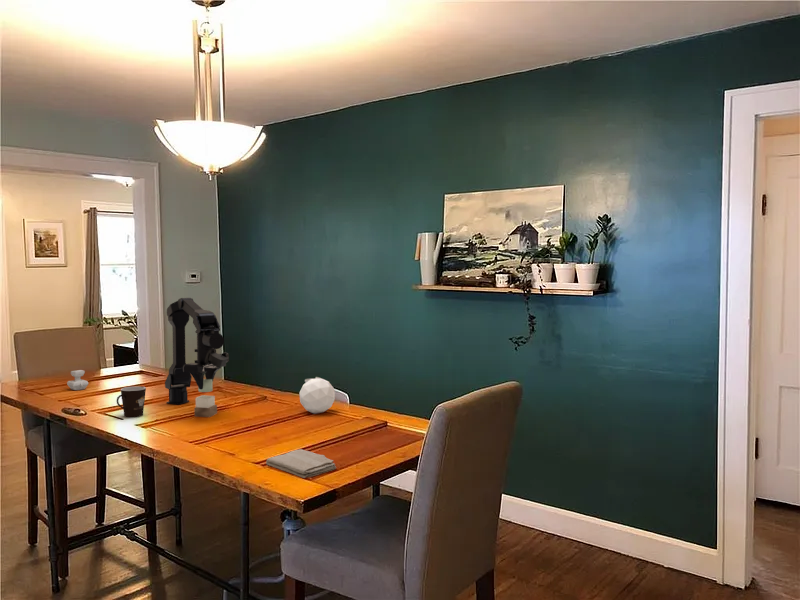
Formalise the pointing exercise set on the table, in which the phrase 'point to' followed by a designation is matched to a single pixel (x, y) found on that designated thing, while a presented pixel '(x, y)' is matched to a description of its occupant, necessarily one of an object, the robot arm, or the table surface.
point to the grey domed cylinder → (206, 386)
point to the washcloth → (302, 463)
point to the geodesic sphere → (317, 395)
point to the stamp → (77, 380)
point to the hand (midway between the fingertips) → (205, 387)
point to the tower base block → (205, 411)
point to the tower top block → (205, 401)
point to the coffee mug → (132, 401)
